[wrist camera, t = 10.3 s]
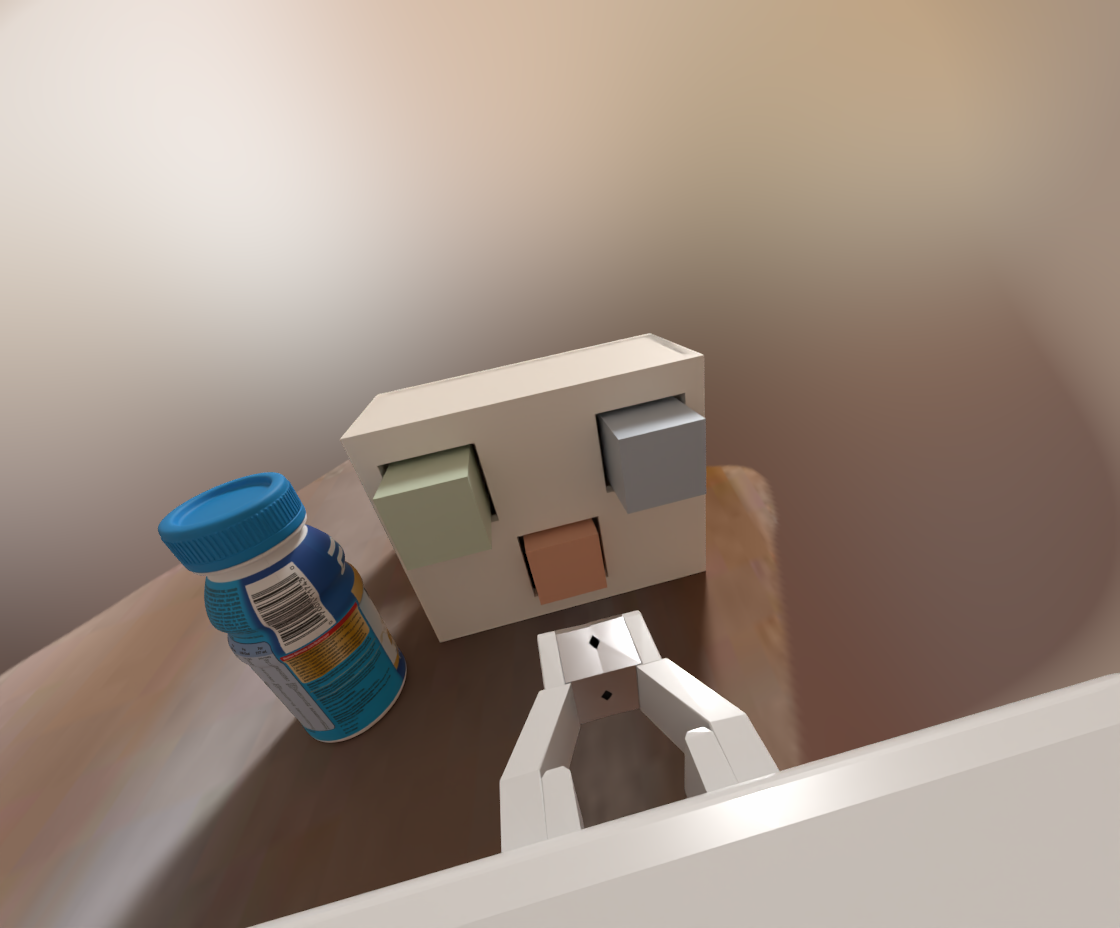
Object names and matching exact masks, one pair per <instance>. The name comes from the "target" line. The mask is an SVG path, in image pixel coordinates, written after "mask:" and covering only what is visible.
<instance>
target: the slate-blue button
mask: <svg viewBox="0 0 1120 928" xmlns="http://www.w3.org/2000/svg"><path fill="white" fill-rule="evenodd" d="M596 416H597V423H598V430H599V436H600V443H601V450H602V457H603V464H604V470H605V476H606V477H607V479H608V481H609V483H610V484H611V486H612V488H613V490H614V491H615V493H616V495H617V497H618V498H619V500H620V502H621V503H622V505H623V507H624V509H625V510H626V512H627V514H630V513H634V512H638V511H642V510H646V509H649V508H653V507H657V506H661V505H665V504H669V503H673V502H677V501H681V500H685V499H688V498H692V497H696V496H700V495H704V494H706V419H705V418H704V417H702V416H701V415H699V414H698V413H697V412H695V411H694V410H692V409H691V408H689V407H688V406H686V405H685V404H683V403H682V402H681V401H679V400H678V399H676V398H675V397H673V396H670V397H665V398H661V399H657V400H653V401H648V402H644V403H640V404H636V405H632V406H627V407H623V408H619V409H615V410H611V411H606V412H602V413H598V414H596Z"/></svg>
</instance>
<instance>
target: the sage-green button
mask: <svg viewBox="0 0 1120 928" xmlns="http://www.w3.org/2000/svg"><path fill="white" fill-rule="evenodd" d="M373 501H374V504H375V506H376V508H377V510H378V512H379V514H380V516H381V518H382V520H383V522H384V524H385V526H386V528H387V530H388V532H389V534H390V536H391V538H392V540H393V542H394V544H395V547H396V549H397V551H398V553H399V555H400V557H401V559H402V561H403V563H404V565H405V567H406V569H407V571H408V570H412V569H416V568H420V567H423V566H427V565H431V564H435V563H439V562H443V561H447V560H451V559H455V558H459V557H462V556H466V555H470V554H474V553H478V552H482V551H486V550H490V549H492V533H491V503H490V500H489V497H488V494H487V491H486V487H485V484H484V481H483V478H482V475H481V472H480V469H479V466H478V462H477V459H476V456H475V453H474V450H473V447H472V444H467V445H463V446H459V447H455V448H451V449H446V450H442V451H438V452H434V453H430V454H425V455H421V456H417V457H413V458H408V459H404V460H400V461H396V462H392V463H390V464H389V466H388V469H387V471H386V473H385V475H384V477H383V479H382V481H381V483H380V485H379V487H378V489H377V491H376V494H375V496H374V498H373Z"/></svg>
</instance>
